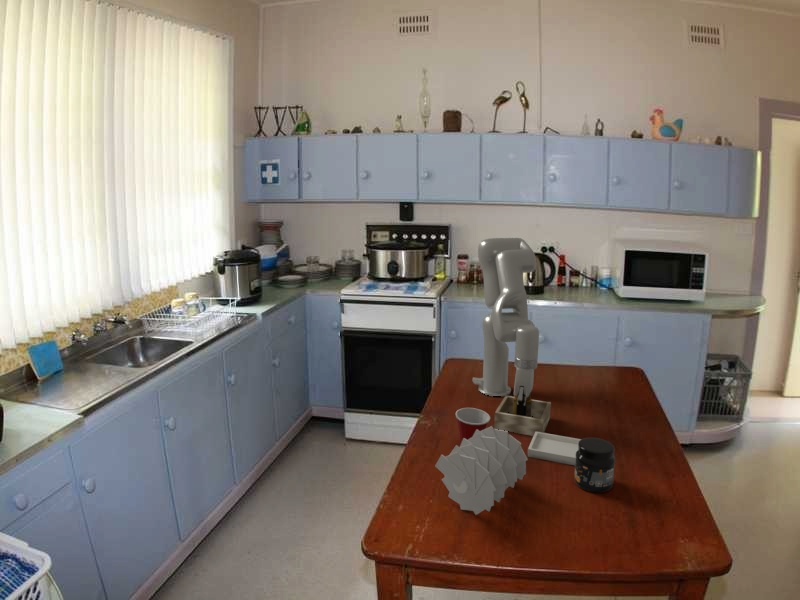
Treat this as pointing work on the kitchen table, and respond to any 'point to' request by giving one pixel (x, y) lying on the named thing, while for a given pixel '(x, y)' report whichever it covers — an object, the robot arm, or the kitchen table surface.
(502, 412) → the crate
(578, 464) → the supplement container
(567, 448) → the tray
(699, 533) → the kitchen table surface
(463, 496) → the spiral staircase
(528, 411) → the condiment
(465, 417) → the plastic cup
